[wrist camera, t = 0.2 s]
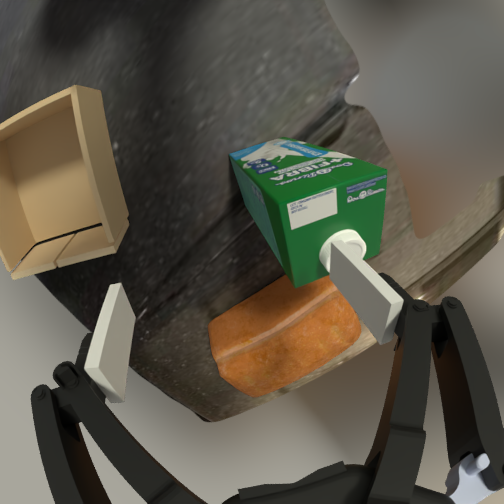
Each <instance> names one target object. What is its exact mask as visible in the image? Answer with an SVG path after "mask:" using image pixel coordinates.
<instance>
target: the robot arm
mask: <svg viewBox="0 0 504 504" xmlns="http://www.w3.org/2000/svg"><path fill="white" fill-rule="evenodd" d="M329 278H330V280H331V281H332V282H333V283H334V285H335V286H336V287H337V289H338V290H339V291H340V292H341V294H342V295H343V296H344V297H345V299H346V300H347V301H348V303H349V304H350V305H351V307H352V308H353V309H354V310H355V312H356V313H357V314H358V316H359V317H360V318H361V320H362V321H363V322H364V324H365V325H366V326H367V328H368V329H369V330H370V332H371V333H372V334H373V336H374V337H375V338H376V340H377V341H378V342H379V344H380V345H381V344H384V343H386V342H389V341H391V340H392V338H393V335H394V332H395V333H396V334H397V336H398V339H397V343H396V345H395V348H394V351H395V356H394V362H393V367H392V372H391V377H390V382H389V386H388V391H387V395H386V399H385V404H384V408H383V411H382V415H381V419H380V423H379V426H378V430H377V433H376V436H375V439H374V443H373V446H372V449H371V451H370V453H369V455H368V457H367V459H366V462H365V464H364V465H357V464H349V465H348V464H347V465H344V463H343V461H341V462H338V463H335V464H333V465H330V466H327V467H324V468H321V469H318V470H317V471H315V472H313V473H311V474H310V475H308V476H306V477H305V478H303V479H301V480H299V481H297V482H295V483H291V484H264V485H258V486H253V487H248V488H242V489H238V491H239V494H236V495H235V496H232V497H230V498H229V499H227V500H226V501H224V502H223V503H222V504H478V503H479V502H480V501H482V500H483V499H484V498H486V497H487V496H489V495H491V494H493V493H495V492H497V491H498V490H500V489H502V488H504V428H503V425H502V421H501V416H500V412H499V407H498V403H497V399H496V396H495V392H494V388H493V385H492V381H491V378H490V375H489V371H488V369H487V365H486V362H485V360H484V357H483V354H482V351H481V348H480V346H479V343H478V340H477V338H476V335H475V333H474V330H473V328H472V325H471V323H470V321H469V318H468V316H467V314H466V312H465V309H464V307H463V305H462V303H461V302H460V301H459V300H458V299H457V298H454V297H449V296H448V297H445V298H443V300H442V302H441V305H433V306H430V305H429V304H428V303H427V302H425V301H423V300H419V299H415V300H414V299H413V298H412V297H411V296H410V295H409V294H408V293H407V292H406V291H405V290H404V289H403V288H402V287H401V286H400V285H399V284H398V283H397V282H395V281H394V280H393V279H392V278H391V277H390V276H388V275H386V274H384V273H379V274H377V273H376V272H375V271H374V270H373V269H372V268H371V267H370V266H369V265H368V264H367V263H366V262H365V261H364V260H363V259H362V258H361V257H359V256H358V255H357V254H356V253H355V252H354V251H353V250H352V249H351V248H350V247H349V246H348V245H347V244H345V243H344V242H343V241H342V240H338V241H333V242H331V255H330V276H329ZM135 318H136V317H135V315H134V313H133V310H132V308H131V306H130V303H129V301H128V298H127V296H126V294H125V291H124V289H123V286H122V284H121V283H117V284H111V285H110V287H109V289H108V292H107V295H106V298H105V301H104V303H103V306H102V309H101V312H100V315H99V318H98V322H97V325H96V328H95V331H94V333H87V335H86V336H85V338H84V339H83V340H82V343H81V347H80V350H79V354H78V356H77V360H76V363H75V365H74V364H73V363H72V362H69V361H66V362H62V363H61V364H59V365H58V366H57V367H56V368H55V370H54V372H53V379H54V380H55V382H56V383H57V384H58V385H59V386H60V387H58V388H55V389H52V390H51V389H50V388H49V387H48V386H47V385H44V384H42V385H39V386H37V387H36V388H35V389H34V390H33V391H32V394H31V405H32V412H33V419H34V425H35V430H36V436H37V441H38V446H39V450H40V454H41V459H42V463H43V466H44V470H45V473H46V477H47V480H48V483H49V487H50V490H51V493H52V495H53V498H54V501H55V504H112V503H111V501H110V499H109V498H108V496H107V493H106V491H105V489H104V488H103V485H102V483H101V481H100V478H99V476H98V474H97V472H96V469H95V467H94V465H93V462H92V460H91V457H90V455H89V452H88V449H87V447H86V444H85V441H84V438H83V435H82V432H81V429H80V426H79V423H80V422H82V423H83V424H84V426H85V427H86V429H87V430H88V432H89V433H90V434H91V436H92V438H93V439H94V441H95V442H96V443H97V445H98V446H99V447H100V449H101V450H102V451H103V453H104V454H105V455H106V456H107V458H108V459H109V460H110V462H111V463H112V464H113V466H114V467H115V468H116V469H117V470H118V471H119V473H120V474H121V475H122V476H123V477H124V479H125V480H126V481H127V482H128V483H129V484H130V485H131V486H132V487H133V489H134V490H135V491H136V492H137V493H138V494H139V495H140V496H141V497H142V498H143V499H144V500H145V501H146V502H147V504H208V503H206V502H205V501H203V500H202V499H200V498H199V497H198V496H197V495H195V494H194V493H193V492H191V491H190V490H189V489H188V488H187V487H185V486H184V485H183V484H182V483H181V482H179V481H178V480H177V479H176V478H175V477H174V476H173V475H172V474H170V473H169V472H168V471H167V470H166V469H165V468H164V467H163V466H162V465H161V464H160V463H158V461H156V460H155V459H154V458H153V457H152V456H151V455H150V454H149V453H148V452H147V451H146V450H145V449H144V448H143V446H141V444H140V443H139V442H138V441H137V440H136V439H135V438H134V437H133V436H132V435H131V434H130V432H128V430H127V429H126V428H125V427H124V426H123V425H122V423H121V422H120V421H119V420H118V419H117V418H116V416H115V415H114V414H113V413H112V411H111V410H110V409H109V408H108V407H107V405H106V404H105V398H107V399H108V400H109V401H110V402H111V403H120V402H124V399H125V388H126V380H127V371H128V363H129V356H130V349H131V342H132V336H133V330H134V324H135ZM431 351H432V355H433V359H434V364H435V369H436V373H437V378H438V383H439V389H440V394H441V400H442V407H443V413H444V421H445V430H446V439H447V451H448V458H449V463H450V467H451V470H450V471H449V473H448V476H447V480H446V482H445V485H446V487H447V492H446V494H442V493H439V492H436V491H433V490H430V489H427V488H424V487H421V486H418V485H415V482H416V478H417V475H418V471H419V467H420V463H421V458H422V454H423V449H424V444H425V439H426V431H424V430H423V423H424V418H425V411H426V404H427V396H428V386H429V376H430V361H431Z"/></svg>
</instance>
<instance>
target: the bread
mask: <svg viewBox="0 0 504 504" xmlns="http://www.w3.org/2000/svg"><path fill="white" fill-rule="evenodd" d="M329 276H330V275H328V276H325V277H323V278H321V279H318V280H316V281H313V282H311V283H308V284H306V285H303V286H301V287H298V288H296V289H295V288H294V287H293V285H292V283H291V281H290V280H289V278H288V276H287V275H284V276H282V277H281V278H279V279H278V280H276V281H274V282H273V283H271V284H270V285H268V286H266V287H265V288H263V289H262V290H260V291H258V292H257V293H255V294H254V295H252V296H250V297H249V298H247V299H245V300H244V301H242V302H240V303H239V304H237V305H236V306H234V307H232V308H231V309H229V310H227V311H226V312H224V313H223V314H221V315H220V316H218V317H216V318H215V319H213V320H212V321H210V323H209V324H208V332H209V339H210V345H211V351H212V356H213V358H214V360H215V361H216V363H217V366H218V370H219V374H220V376H221V377H222V378H223V379H225V380H226V381H227V382H228V383H230V384H231V385H232V386H234V387H235V388H236V389H238V390H239V391H241V392H243V393H245V394H247V395H249V396H251V397H259V396H262V395H265V394H268V393H270V392H273V391H275V390H277V389H280V388H282V387H284V386H286V385H288V384H290V383H292V382H294V381H296V380H298V379H300V378H302V377H304V376H305V375H307V374H309V373H310V372H312V371H314V370H316V369H317V368H319V367H321V366H323V365H324V364H326V363H327V362H328V361H330V360H331V359H333V358H334V357H336V356H337V355H339V354H340V353H342V352H343V351H344V350H346V349H347V348H349V347H350V346H351V345H353V344H354V342H355V341H356V340H357V339H358V338H359V336H360V334H361V325H360V322H359V320H358V317H357V315H356V312H355V310H354V309H353V308H352V307H351V305H350V304H349V303H348V301H347V300H346V299H345V297H344V296H343V295H342V294H341V292H340V291H339V290H338V289H337V287H336V286H335V285H334V283H333V282H332V281H331V280H330V278H329Z"/></svg>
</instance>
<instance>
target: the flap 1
mask: <svg viewBox="0 0 504 504" xmlns="http://www.w3.org/2000/svg"><path fill="white" fill-rule="evenodd" d="M74 237H75V234H72V235H68V236H65V237H62V238H59V239H56V240H52V241H49V242H46V243H43V244H40V245H37V246H35V247H34V248H33V249H32V250H31V251H30V252H29V253H28V254H27V256H26V257H25V258H24V259H23V260H22V261H21V262H20V264H19V265H18V266H17V267H16V269H15V270H14V271H13V272H12V273H11V277H12V279H13V280H15V279H19V278H22V277H26V276H30V275H33V274H37V273H40V272H44V271H48V270H51V269H55V268H56V267H57V266H58V264H57V262H56V260H57V259H58V258H59V256H60V255H61V254H62V252H63V251H64V250H65V248H66V247H67V246H68V244H69V243H70V242H71V241H72V239H73V238H74Z"/></svg>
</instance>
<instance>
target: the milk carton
mask: <svg viewBox="0 0 504 504" xmlns="http://www.w3.org/2000/svg"><path fill="white" fill-rule="evenodd" d="M229 157H230V160H231V163H232V166H233V169H234V172H235V175H236V178H237V181H238V184H239V188H240V191H241V194H242V197H243V200H244V203H245V206H246V208H247V210H248V211H249V213H250V215H251V216H252V218H253V220H254V221H255V223H256V224H257V226H258V228H259V229H260V231H261V233H262V234H263V236H264V238H265V239H266V241H267V243H268V244H269V246H270V248H271V249H272V251H273V253H274V254H275V256H276V258H277V260H278V261H279V263H280V265H281V266H282V268H283V270H284V271H285V273H286V275H287V276H288V278H289V280H290V281H291V283H292V285H293V287H294V288H295V289H296V288H298V287H301V286H303V285H306V284H308V283H311V282H313V281H316V280H318V279H321V278H323V277H325V276H328V275H330V255H331V242H333V241H338V240H342V241H343V242H344V243H345V244H347V245H348V246H349V247H350V248H351V249H352V250H353V251H354V252H355V253H356V254H357V255H358V256H359V257H361V258H362V259H363V260H366V259H368V258H370V257H373V256H375V255H377V254H379V250H380V243H381V235H382V227H383V219H384V209H385V198H386V185H387V169H384V168H382V167H379V166H376V165H374V164H371V163H368V162H365V161H363V160H360V159H357V158H354V157H351V156H348V155H345V154H342V153H339V152H336V151H332V150H329V149H326V148H323V147H319V146H316V145H312V144H309V143H305V142H302V141H298V140H294V139H290V138H287V137H282V138H279V139H275V140H272V141H268V142H265V143H262V144H259V145H255V146H252V147H249V148H246V149H243V150H240V151H237V152H234V153H231V154H229Z"/></svg>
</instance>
